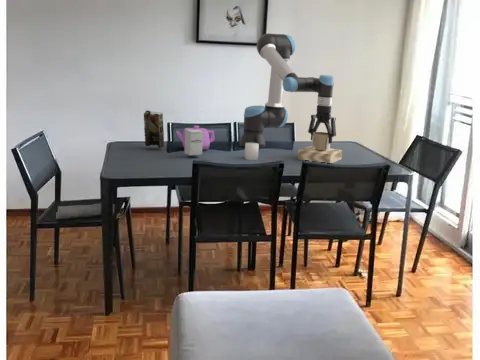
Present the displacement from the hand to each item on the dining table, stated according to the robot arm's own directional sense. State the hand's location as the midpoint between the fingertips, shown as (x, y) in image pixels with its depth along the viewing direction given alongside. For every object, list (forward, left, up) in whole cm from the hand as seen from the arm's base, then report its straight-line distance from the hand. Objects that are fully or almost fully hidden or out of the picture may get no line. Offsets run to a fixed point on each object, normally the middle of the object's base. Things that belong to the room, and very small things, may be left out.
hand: (320, 147), depth 304 cm
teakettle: (-64, -29, -6) cm, 70 cm away
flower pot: (0, 0, -1) cm, 1 cm away
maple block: (0, 0, -6) cm, 6 cm away
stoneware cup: (-24, -29, -6) cm, 38 cm away
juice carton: (-79, -46, -6) cm, 92 cm away
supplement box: (-51, -44, -6) cm, 68 cm away
